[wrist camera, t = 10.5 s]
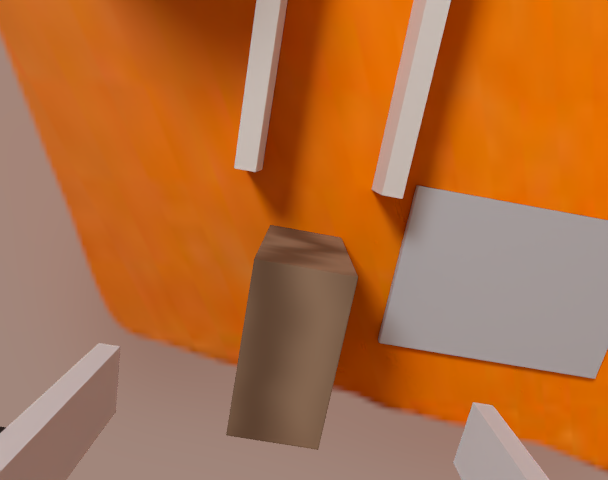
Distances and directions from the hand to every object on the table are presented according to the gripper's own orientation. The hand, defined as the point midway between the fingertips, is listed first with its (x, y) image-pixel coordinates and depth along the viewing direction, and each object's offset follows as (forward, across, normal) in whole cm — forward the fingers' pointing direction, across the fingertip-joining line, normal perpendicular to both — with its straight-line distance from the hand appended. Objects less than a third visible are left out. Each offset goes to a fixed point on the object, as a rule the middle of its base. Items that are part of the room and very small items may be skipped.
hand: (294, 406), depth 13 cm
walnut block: (+18, 0, +3) cm, 18 cm away
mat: (+18, -18, -1) cm, 26 cm away
